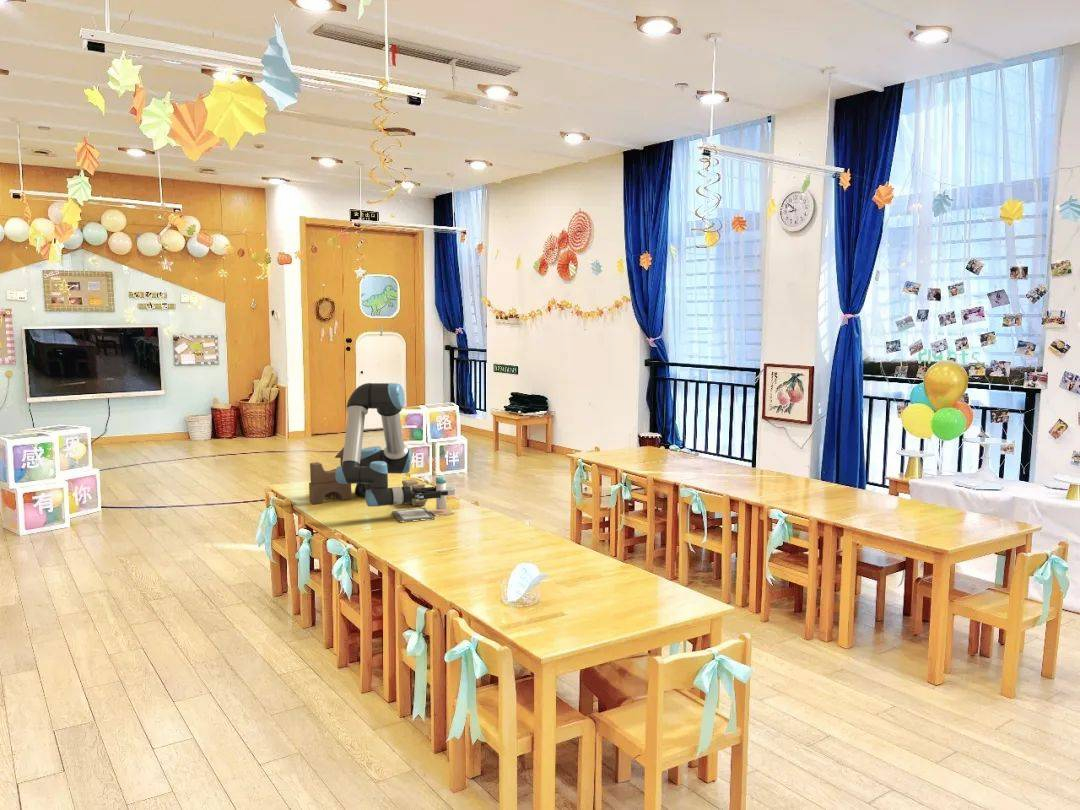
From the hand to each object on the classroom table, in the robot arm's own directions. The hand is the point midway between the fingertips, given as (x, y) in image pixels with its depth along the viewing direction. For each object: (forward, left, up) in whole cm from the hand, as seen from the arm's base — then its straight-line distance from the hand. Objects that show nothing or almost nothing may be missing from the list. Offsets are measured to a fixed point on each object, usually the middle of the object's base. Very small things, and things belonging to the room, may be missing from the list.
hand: (452, 490), depth 359 cm
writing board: (0, -18, -10) cm, 21 cm away
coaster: (0, -5, -10) cm, 11 cm away
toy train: (-22, -12, -10) cm, 27 cm away
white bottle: (0, -5, -8) cm, 9 cm away
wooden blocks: (-49, -47, -10) cm, 69 cm away
